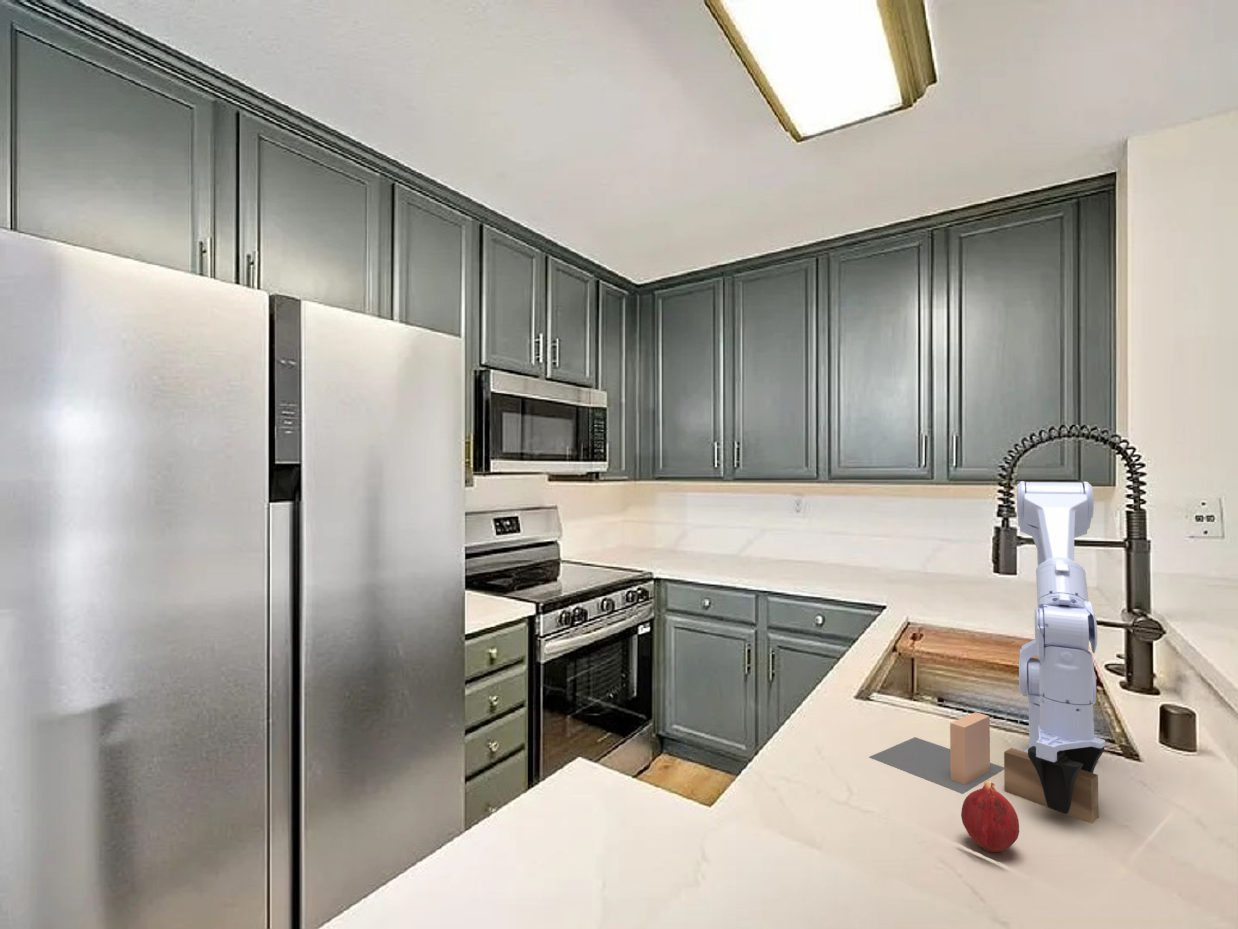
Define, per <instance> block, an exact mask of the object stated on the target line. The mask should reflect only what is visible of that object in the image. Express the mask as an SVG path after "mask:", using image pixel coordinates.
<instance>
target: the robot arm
mask: <svg viewBox="0 0 1238 929" xmlns="http://www.w3.org/2000/svg"><path fill="white" fill-rule="evenodd" d="M1094 504H1095V503H1094V490H1093V486H1092V484H1090V483H1089V482H1088V481H1083V482H1068V481H1067V482H1063V481H1062V482H1058V481H1057V482H1046V481H1045V482H1044V481H1043V482H1040V481H1038V482H1037V481H1036V482H1033V481H1032V482H1031V481H1030V482H1027V481H1026V482H1025V481H1023V480H1021V481H1020V482H1019V483H1017V485H1016V511H1017V513H1016V514H1017V522H1018V524H1017V526H1018V527H1019V531H1020V532H1021V533H1023V534H1026V535H1028V536H1031V538H1032V540H1033V542H1034V544H1035V547H1036V551H1037V552H1036V553H1037V555H1036V557H1037V558H1036V561H1037V567H1036V570H1035V576H1036V593H1037V594H1036V598H1037V607H1035V609H1034V639H1032V640H1030V641H1029V642H1026V643H1025V644H1023V645H1021V648H1019V658H1018V690H1019V693H1020V694H1022V696H1023V697H1027V699H1028V701H1027V702H1028V737H1029V738H1028V746H1029V747H1028V748H1026V749H1025V750H1023V751H1024V752H1027V753H1028V757H1029V758H1030V760H1031V762H1032V763H1033V765H1034V767H1035V769H1036V771H1037V773H1038V775H1039V778H1040V781H1041V784H1042V788H1043V792H1044V795H1045V799H1046V802H1047V805H1048V807H1047V808H1048V809H1051V810H1053V811H1056V812H1058V813H1059V812H1060V813H1061V814H1064V815H1067V813H1068V812H1069V809H1070V806H1071V800H1072V792H1073V787H1074V783H1075V780H1076V777H1077V775H1078V773H1079V771H1080V769H1081V770H1084V771H1088V772H1091V773H1094V770H1095V768H1096V766H1097V764H1098V762H1099V761H1098V760H1100V758H1101V756H1102V755H1103V753H1104V752H1105V747H1106V740H1105V739H1103V738H1099V737H1096V735H1095V722H1094V705H1095V704H1096V702H1097V680H1096V672H1095V667H1094V659H1093V654H1095V653H1096V650H1097V646H1098V623H1097V617H1096V615H1095V611H1094V608H1093V606H1092V601H1089V594H1088V593H1089V592H1088V584H1087V577H1086V570H1085V569H1084V567H1083V566H1082V565H1080V564H1079V563H1077V562H1076V561H1075V560H1074V559H1075V539H1076V538H1079V537H1082V536H1085V535H1087V534H1088V530H1089V529H1090V527H1091V523H1092V518H1093V517H1094ZM1089 644H1090V647H1091V651H1092V653H1093V654H1092V653H1091V652H1090V651H1089ZM1035 657H1037V658H1035Z"/></svg>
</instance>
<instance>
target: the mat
mask: <svg viewBox="0 0 1238 929" xmlns="http://www.w3.org/2000/svg"><path fill="white" fill-rule="evenodd" d="M868 758H870V759H872V760H874V761H877V762H880V763H882V764H885V765H887V766H890V767H892V768H895V769H897V770H900V771H903V772H906V773H908V774H911V775H913V776H916V777H919V778H920V779H922V780H923V779H924V780H926V781H929V782H931V783H933V784H937V785H939V786H941V787H943V788H947V789H949V790H951V791H953V792H956V793H959V794H961V795H963V794H965V793H967V792H968V791H970V790H972V789H974V788H975V787H977V786H979V785H980V784H982V783H984V782H986V781H988V780H989V779H991V778H992V777H995V775H997V774H999V773H1001V772H1002V771H1004V766H1001V765H999V764H995V763H993V762H990V771H988V772H987V773H985V774H983V775H981V776H980V777H978V778H976V779H975V780H973V781H971V782H969V783H968V784H966V785H964V784H961V783H959V782H956V781H954V780H951V766H950V747H949V748H948V747H945V746H942V745H939V744H936V743H934V742H931V741H927V740H924V739H922V738H919V737H915V736H914V737H912V738H910V739H907V740H906V741H902V742H900V743H897V744H896V745H895V744H894V746H891V747H889V748H887V749H884V750H882V751H879V752H876V753H875V754H871V755H870V756H868Z"/></svg>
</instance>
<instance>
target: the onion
mask: <svg viewBox="0 0 1238 929" xmlns="http://www.w3.org/2000/svg"><path fill="white" fill-rule="evenodd" d="M983 783H984V784H983V786H982V788H979V789H977V790H973V791H972V792H970V793H969V794H968V795H967V796H966V797H965V798H964V800H963V803H962V806H961V813H960V816H961V817H960V818H961V821H962V825H963V827H964V829H965V830H966V832H967V834H968V835H969V837H970V838H971V839H972V840H973V842H975V843H976V844H977V845H978V847H980V848H982V849H983V850H985V851H987V852H989V853H997V852H1001V851H1005V850H1007V849H1009V848H1010V847H1012V845H1014V844H1015V843H1016V841H1017V840H1018V839H1019V838H1018V837H1019V834H1020V821H1019V820H1020V819H1019V816H1018V813H1017V812H1016V809H1015V808H1014V806H1013V805H1012V804H1011V802H1010V801H1009V800H1008V799H1007V798H1006V797H1005V796H1004V795H1002V794H1001V793H1000V792H999V791H997V790H996V788H995V784H994V782H993V781H991V780H989V779H987V780H985V781H984V782H983Z"/></svg>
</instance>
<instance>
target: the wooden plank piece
mask: <svg viewBox="0 0 1238 929" xmlns="http://www.w3.org/2000/svg"><path fill="white" fill-rule="evenodd" d="M1003 760H1004V761H1003V762H1004V764H1003V767H1004V770H1003V771H1004V772H1003V774H1004V775H1003V776H1004V784H1003V785H1004V790H1003V791H1004V792H1005V793H1007V794H1011V795H1013V796H1015V797H1016V796H1017V797H1019V798H1021V799H1024V800H1028V801H1030V802H1033V803H1036V804H1038V805H1041V806H1043V807H1046V808H1048V805H1047V802H1046V799H1045V795H1044V792H1043V788H1042V784H1041V781H1040V778H1039V775H1038V773H1037V771H1036V769H1035V767H1034V765H1033V763H1032V762H1031V760H1030V758H1029V757H1028V753H1027V752H1024V750H1020V749H1018V748H1014V747H1011V748H1009V749H1007V750H1004V752H1003ZM1099 813H1100V812H1099V774H1097V773H1094V772H1093V773H1091V772H1088V771H1084V770H1081V769H1080V771H1079V773H1078V775H1077V777H1076V780H1075V783H1074V787H1073V792H1072V800H1071V806H1070V809H1069V812H1068V813H1067V814H1066V815H1067V816H1070V817H1073V818H1077V819H1078V820H1081V821H1084V822H1087V823H1090V824H1093V823H1094V822H1095V821H1096V820H1098V819H1099V815H1100V814H1099Z"/></svg>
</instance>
